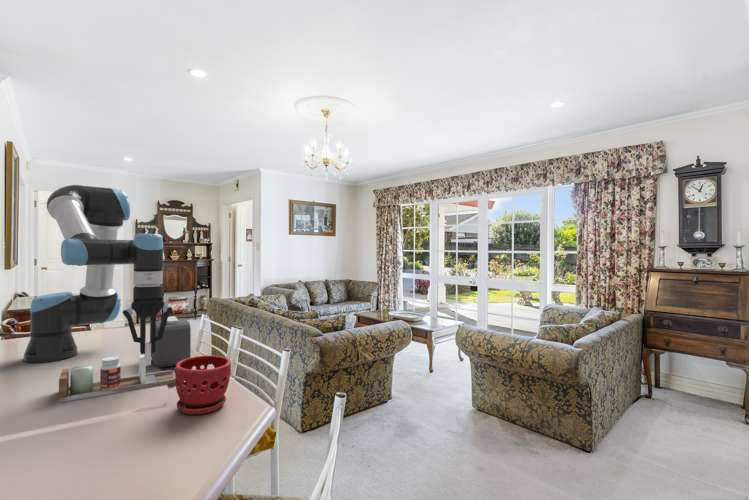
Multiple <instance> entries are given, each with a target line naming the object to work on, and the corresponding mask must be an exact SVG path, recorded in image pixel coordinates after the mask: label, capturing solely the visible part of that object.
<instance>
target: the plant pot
mask: <svg viewBox="0 0 749 500" xmlns="http://www.w3.org/2000/svg"><path fill="white" fill-rule="evenodd" d="M209 365H212V366H213V367H214V368H208V367H209ZM202 366H203V368H201V367H202ZM193 367H195V369H192V368H193ZM231 368H232V361H231V359H229V358H228V357H225V356H220V355H199V356H197V355H196V356H190V358H187V359H184V360H181V361H180V362H178V363H177V364H176V365H175V375H174V376H175V377H174V378H175V383H176V386H175V389H176V393H177V397H178V398H179V399H178V400H177V402H176V408H177V409H178V410H179V411H180V412H181V413H183V414H186V415H203V414H208V413H212V412H214V411H216V410H218V409H220V408H222V407H223V406H224V404H225V403H226V401H227V398H226V396H225V395H226V392H227V390H228V387H229V383H230V379H231V373H232V371H231V370H232V369H231Z"/></svg>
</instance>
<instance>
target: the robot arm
mask: <svg viewBox="0 0 749 500" xmlns="http://www.w3.org/2000/svg"><path fill="white" fill-rule="evenodd" d="M46 210H47V212H48V215H49V216H50V217H51V218H53V219H54V220H55V221H56V223H57V224H58V228H59V230H60V233H61V234H62V236H63V239H64V240H63V241H62V242H61V246H60V257H61V262H62V263H63V264H64V265H66V266H78V267H82V266H86V271H85V273H86V274H85V283H84V285H85V286H83V287H81V288H80V290H79V294H77V295H76V294H75V295H73V293H72V291H63V292H61V291H60V292H54V293H49V294H43V295H38V296H37V297H34V298H33V299H32V300H31V301H30V309H29V313H30V338H29V341H28V343H27V346H26V348H25V351H24V353H23V362H25V363H31V364H32V363H34V364H37V363H48V362H55V361H61V360H66V359H69V358H72V357H75V356H77V355H78V345H77V343H76V341H75V339H74V336H73V334H72V333H73V331H72V329H73V327H77V326H83V325H84V326H86V325H93V324H94V325H95V324H103V323H110V322H113V321H114V320H115V319H116V318H117V317H118V316H119V313H120V311H121V306H122V305H121V304H122V303H121V300H122V298H121V295H120V293H118V292H117V289H116V288H115V287H114V286H113V282H114V281H113V280H114V279H113V278H114V272H115V271H114V270H115V265H116V266H117V265H133V271H132V272H133V275H132V277H133V285H134V287H132V288H133V289H132V291H133V293H132V295H133V297H132V302H131V304H130V307H128V308H126V309H123V310H122V314H123V315H124V317H125V318H126V320H127V322H128V327H129V331H130V333H131V337H132V340H133V343H138V344H139V352H140V355H144V357H145V360H146V367H147V366H152V358H151V353H154V352H155V342H156V341H157V340H159V339H162V337H163V333H164V330H165V326H166V322H167V319H168V317H169V315H170V314H171V312H172V311H173V308H172V307H171V306H170V305H169V306H168V305H166V304H165V301H164V299H163V298H164V297H163V296H164V295H163V293H164V292H163V288H164V287H163V285H162V284H163V279H164V278H163V270H164V266H163V265H164V241H163V240H164V239H163V235H161V234H159V233H136V234H134V235H133V239H130V240H129V239H117V238H118V229H120V228H122V227H123V226H124V221H125V222H126V221H128V220H129V219H130V217H131V206H130V199H129V196H128V195H127V193H126V192H125V191H123V190H121V189H117V188H110V187H103V186H102V187H101V186H90V185H81V184H69V185H66V186H63V187H60V188H57V190H55V191H52V193H51V194H50V195H49V196H48V198H47V201H46ZM161 310H162V312H163V313H162V317H161V319H160V320H161V323H160V326H159V330H158V334H157V335H156V321H157V315H158V314H159V313H160V311H161ZM133 311H134V312H135V313H136V314H137V315H138V316H139V320H140V321H139V332H140V333H139V337H138V334H137V329H136V327H135V322H134V320H133V317H132V315H133V314H134V313H133ZM147 317H149V340H148V341H146V340H147V339H146V336H147V335H146V329H147V327H146V326H147V321H146V320H147Z"/></svg>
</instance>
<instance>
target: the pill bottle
mask: <svg viewBox="0 0 749 500" xmlns="http://www.w3.org/2000/svg"><path fill="white" fill-rule="evenodd" d="M121 369H122V367H121V364H120V357H119V356H109V357H105V358H102V360H101V366H100V374H99V375H100V377H99V379H100V380H99V381H100V389H101V390H107V389H113V388H119V387H120V378H121V371H122V370H121Z"/></svg>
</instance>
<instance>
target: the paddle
mask: <svg viewBox="0 0 749 500" xmlns="http://www.w3.org/2000/svg"><path fill="white" fill-rule="evenodd" d="M138 356H139V357H138V363H139V364H138V375H139V380H140V384H142V383H148V382H154V381H156V378H155V375H148V376H146V374H147V366H146V360H145V357H144V354H140V355H138Z"/></svg>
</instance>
